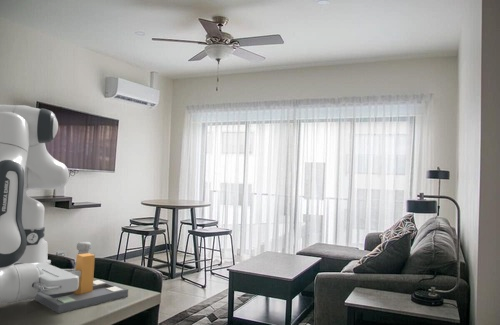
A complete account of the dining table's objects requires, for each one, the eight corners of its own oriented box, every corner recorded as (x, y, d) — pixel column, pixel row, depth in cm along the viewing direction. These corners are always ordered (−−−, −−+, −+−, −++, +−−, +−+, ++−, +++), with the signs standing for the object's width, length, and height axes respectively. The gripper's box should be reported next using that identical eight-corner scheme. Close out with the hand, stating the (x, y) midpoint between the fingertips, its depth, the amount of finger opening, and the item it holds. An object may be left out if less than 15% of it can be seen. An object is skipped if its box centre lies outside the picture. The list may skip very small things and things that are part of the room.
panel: (34, 299, 104) (34, 291, 104) (101, 285, 120) (102, 278, 120) (58, 313, 95) (58, 304, 95) (127, 296, 111) (128, 288, 111)
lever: (74, 293, 107) (76, 254, 108) (86, 291, 110) (88, 253, 110) (80, 296, 105) (83, 256, 106) (92, 294, 108) (94, 255, 108)
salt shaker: (83, 286, 118) (86, 244, 119) (67, 284, 119) (70, 242, 120) (94, 281, 124) (97, 241, 124) (79, 279, 125) (82, 240, 126)
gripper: (44, 277, 89) (99, 268, 100) (10, 261, 102) (62, 255, 113) (42, 304, 89) (97, 292, 100) (8, 285, 102) (60, 276, 113)
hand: (78, 272), depth 106 cm, fingers closed, pressing on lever
